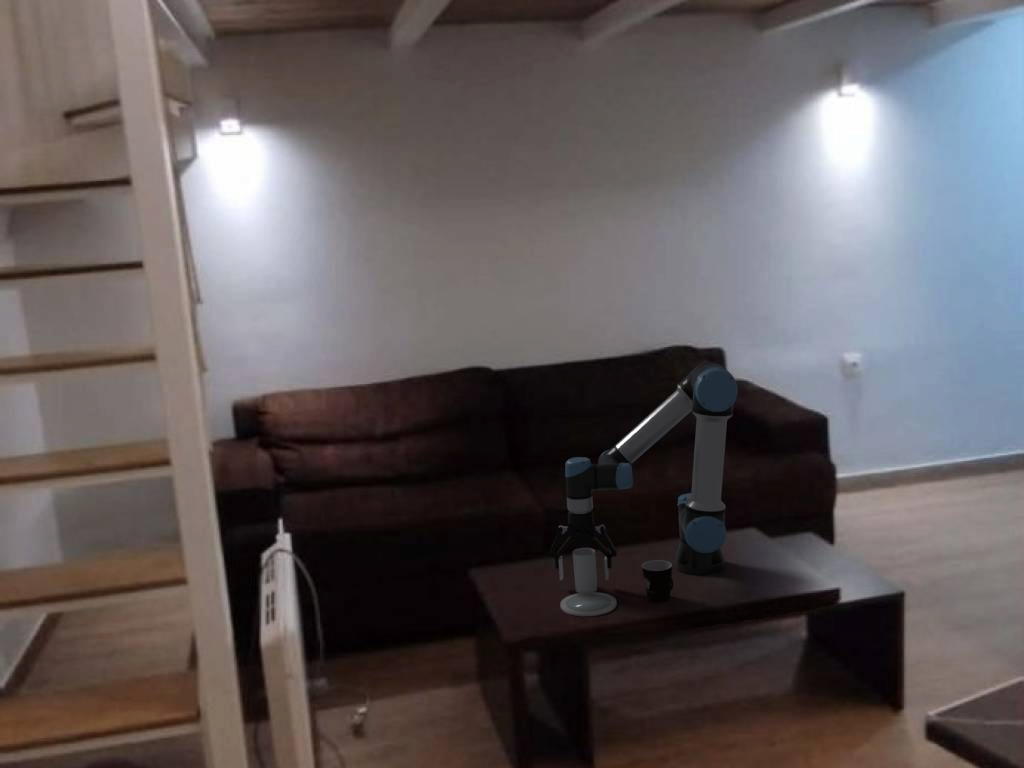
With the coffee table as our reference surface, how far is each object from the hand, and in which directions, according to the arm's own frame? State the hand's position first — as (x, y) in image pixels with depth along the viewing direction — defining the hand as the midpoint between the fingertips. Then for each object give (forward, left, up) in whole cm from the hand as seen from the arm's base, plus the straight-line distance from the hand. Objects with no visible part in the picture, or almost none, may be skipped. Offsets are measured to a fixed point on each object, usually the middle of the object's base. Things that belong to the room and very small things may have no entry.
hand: (584, 578), depth 306 cm
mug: (0, 0, -3) cm, 3 cm away
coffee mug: (-22, +10, -3) cm, 25 cm away
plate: (-2, +13, -3) cm, 14 cm away
